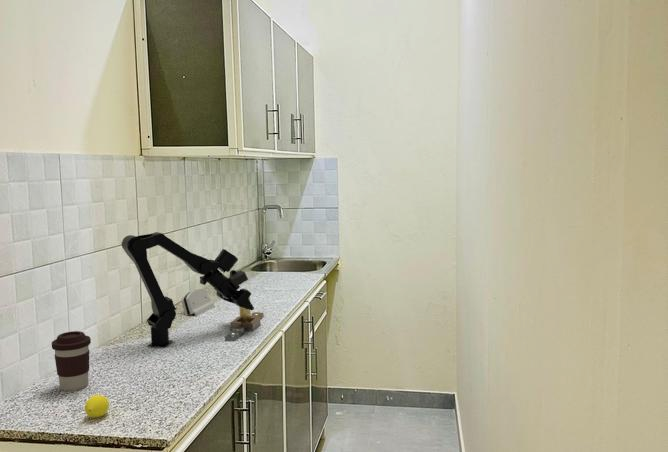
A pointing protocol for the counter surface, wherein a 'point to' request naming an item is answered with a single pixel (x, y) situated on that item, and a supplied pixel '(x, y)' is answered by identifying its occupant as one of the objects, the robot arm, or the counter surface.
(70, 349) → the coffee cup
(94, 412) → the lemon
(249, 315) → the brass pin
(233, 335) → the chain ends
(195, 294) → the light grey block
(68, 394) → the counter surface
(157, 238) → the robot arm
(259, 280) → the counter surface
